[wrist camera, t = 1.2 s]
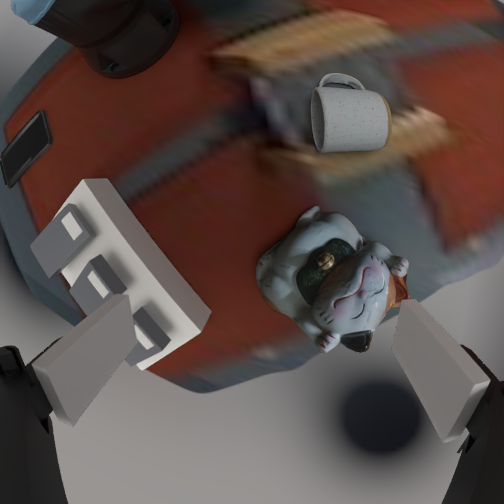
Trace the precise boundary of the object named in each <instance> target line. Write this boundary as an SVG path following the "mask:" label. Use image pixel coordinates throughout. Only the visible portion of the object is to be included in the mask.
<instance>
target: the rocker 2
mask: <svg viewBox="0 0 504 504" xmlns="http://www.w3.org/2000/svg"><path fill="white" fill-rule="evenodd" d="M126 290H127V287H126V286H125V285H124V284H123V282H122V281H121V280H120V278H119V277H118V276H117V274H116V273H115V272H114V271H113V269H112V268H111V267H110V265H109V264H108V263H107V261H106V260H105V259H104V257H103V256H102V254H100V255H98V256H96V257H95V258H93V259H91V260H90V261H89V262H88V263H87V264H86V266H85V267H84V269H83V270H82V272H81V273H80V275H79V276H78V278H77V279H76V281H75V283H74V284H73V286H72V287H71V289H70V290H69V292H70V293H71V295H72V296H73V297H74V299H75V300H76V302H77V303H78V304H79V306H80V307H81V308H82V309H83V311H84V312H85V313H86V315H87V316H89V315H90V314H91V313H93V312H94V311H95V310H96V309H98V308H99V307H100V306H101V305H103V304H104V303H105V302H106V301H108V300H109V299H110V298H111V297H113V296H114V295H115V294H123V293H124V292H125V291H126Z"/></svg>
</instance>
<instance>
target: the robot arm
mask: <svg viewBox="0 0 504 504" xmlns="http://www.w3.org/2000/svg"><path fill="white" fill-rule="evenodd" d="M11 9H12V11H13V12H14V14H16V15H17V16H19V17H21V18H23V19H24V20H26V21H27V22H28V24H30V25H34V26H36V27H39V28H41V29H43V30H45V31H47V32H49V33H51V34H53V35H55V36H57V37H59V38H61V39H63V40H65V41H67V42H69V43H71V44H73V45H75V46H77V47H78V49H79V50H80V52H81V53H82V55H83V57H84V58H85V60H86V62H87V63H88V65H89V66H90V67H91V68H92V69H93V70H94V71H96V72H98V73H100V74H102V75H104V76H106V77H110V78H123V77H128V76H131V75H134V74H137V73H139V72H141V71H143V70H145V69H146V68H148V67H149V66H151V65H152V64H154V63H155V62H156V61H157V60H158V59H160V58H161V57H162V56H163V55H164V53H165V52H166V51H167V50H168V49H169V47H170V46H171V45H172V43H173V41H174V39H175V37H176V35H177V32H178V29H179V15H178V12H177V10H176V8H175V7H174V5H173V4H172V3H171V1H170V0H11ZM137 343H138V341H137V337H136V332H135V327H134V322H133V316H132V311H131V305H130V299H129V295H125V294H115V295H114V296H113V297H111V298H110V299H109V300H108V301H106V302H105V303H104V304H103V305H101V306H100V307H99V308H98V309H96V310H95V311H94V312H93V313H91V314H90V315H89V316H88V317H86V318H85V319H84V320H83V321H81V322H80V323H79V324H78V325H77V326H75V327H74V328H73V329H72V330H71V331H69V332H68V333H67V334H66V335H65V336H63V337H61V338H59V339H57V340H55V341H54V342H53V343H52V344H51V345H50V346H49V347H47V348H46V349H45V350H44V352H41V353H40V354H39V355H38V356H37V357H35V358H34V359H33V360H32V361H31V362H30V363H29V364H27V365H26V366H25V364H24V362H23V360H22V357H21V355H20V352H19V349H18V348H17V347H15V346H4V347H1V348H0V504H68V501H67V498H66V495H65V490H64V486H63V482H62V478H61V473H60V469H59V464H58V459H57V453H56V447H55V441H54V434H53V426H52V421H51V418H50V416H49V414H50V413H51V412H52V411H54V413H55V415H56V416H57V418H58V420H59V421H61V422H63V423H65V424H68V425H70V426H74V425H75V424H76V422H77V421H78V419H79V418H80V417H81V415H82V414H83V413H84V411H85V410H86V409H87V407H88V406H89V405H90V403H91V402H92V401H93V399H94V398H95V397H96V396H97V394H98V393H99V391H100V390H101V389H102V387H103V386H104V385H105V384H106V382H107V381H108V380H109V379H110V377H111V376H112V375H113V373H114V372H115V371H116V369H117V368H118V367H119V366H120V364H121V363H122V362H123V361H124V359H125V358H126V357H127V356H128V354H129V353H130V352H131V350H132V349H133V348H134V347H135V345H136V344H137ZM391 349H392V351H393V353H394V354H395V356H396V358H397V360H398V361H399V363H400V365H401V367H402V368H403V370H404V372H405V374H406V375H407V377H408V379H409V381H410V382H411V384H412V386H413V388H414V390H415V391H416V393H417V395H418V397H419V399H420V401H421V402H422V404H423V406H424V408H425V410H426V412H427V414H428V416H429V418H430V419H431V421H432V423H433V425H434V427H435V429H436V431H437V433H438V435H439V437H440V439H441V441H442V443H446V442H449V441H452V440H455V439H458V438H459V437H460V436H461V434H462V432H463V431H464V429H465V427H466V428H467V429H468V431H469V435H468V436H467V438H466V439H465V441H464V443H463V444H462V445H461V447H460V448H459V450H458V452H457V453H460V451H461V450H462V449H463V450H462V453H461V456H460V459H459V462H458V465H457V467H456V470H455V473H454V475H453V478H452V481H451V483H450V486H449V488H448V490H447V493H446V495H445V497H444V499H443V502H442V504H504V381H501V382H500V381H499V380H498V379H497V378H496V377H495V375H494V374H493V373H492V372H491V371H490V370H489V369H488V368H487V367H486V365H485V364H483V362H482V361H481V360H480V359H479V358H478V357H477V355H476V354H475V353H474V352H473V351H472V350H471V349H469V348H467V347H465V346H464V345H459V344H458V343H457V341H456V340H455V339H454V338H453V337H452V336H451V335H450V334H449V333H448V332H447V331H446V330H445V329H444V328H443V327H442V326H441V325H440V324H439V323H438V322H437V321H436V320H435V319H434V318H433V317H432V316H431V315H430V314H429V312H428V311H427V310H425V309H424V308H423V307H422V306H421V305H420V304H419V303H418V302H417V301H416V300H415V299H411V300H402V301H401V307H400V312H399V317H398V322H397V326H396V331H395V335H394V340H393V344H392V348H391Z"/></svg>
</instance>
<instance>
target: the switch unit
mask: <svg viewBox="0 0 504 504" xmlns="http://www.w3.org/2000/svg"><path fill="white" fill-rule="evenodd" d="M68 203H71V204H75V205H76V206H77V208H78V209H79V211H80V212H81V214H82V215H83V217H84V218H85V220H86V221H87V223H88V224H89V226H90V227H91V229H92V230H93V231H94V233H95V234H96V237H95V238H94V239H93V240H92V241H91V242H90V243H89V244H88V245H87V246H86V247H85V248H84V249H83V250H82V251H81V252H80V253H79V254H78V255H77V256H76V257H75V258H74V259H73V260H72V261H71V262H70V263H69V264H68V265H67V266H66V267H65V268H64V269H63V270H62V271H61V272H62V274H63V275H64V276H65V278H66V279H67V281H68V282H69V284H70V285H71V286H73V284H74V283H75V281H76V279H77V278H78V276H79V275H80V273H81V272H82V270H83V269H84V267H85V266H86V264H87V263H88V262H89V261H90V260H91V259H93V258H95V257H96V256H98V255H100V254H102V256H103V257H104V259H105V260H106V261H107V263H108V264H109V265H110V267H111V268H112V269H113V271H114V272H115V273H116V274H117V276H118V277H119V278H120V280H121V281H122V282H123V284H124V285H125V286H126V287H127V290H126V291H125V292H124V293H123V294H125V295H129V299H130V305H131V311H132V314H133V313H134V312H136V311H137V310H138V309H139V308H141V307H143V308H144V309H145V311H146V312H147V313H148V314H149V315H150V316H151V318H152V319H153V320H154V321H155V322H156V323H157V324H158V326H159V327H160V328H161V329H162V330H163V331H164V332H165V333H166V335H167V336H168V337H169V338H170V339H171V341H170V342H169V344H168V345H167V346H166V347H165V349H164V350H163V351H161V352H159V353H157V354H155V355H153V356H151V357H150V358H148V359H146V360H144V361H141V362H139V363H137V364H136V365H137V366H138V367H139V368H140V369H141V370H144V369H145V368H147V367H149V366H150V365H152V364H153V363H155V362H156V361H158V360H160V359H161V358H163V357H164V356H166V355H167V354H169V353H170V352H172V351H174V350H175V349H177V348H178V347H180V346H181V345H183V344H184V343H186V342H187V341H189V340H190V339H192V338H193V337H195V336H196V335H198V334H199V333H201V332H202V330H203V328H204V326H205V324H206V322H207V320H208V318H209V316H210V314H211V312H212V311H211V310H210V309H209V308H208V307H207V305H206V304H205V303H204V302H203V301H202V300H201V298H200V297H199V296H198V295H197V294H196V293H195V291H194V290H193V289H192V288H191V287H190V285H189V284H188V283H187V282H186V281H185V279H184V278H183V277H182V276H181V275H180V273H179V272H178V271H177V270H176V268H175V267H174V266H173V265H172V263H171V262H170V261H169V260H168V258H167V257H166V256H165V255H164V253H163V252H162V251H161V250H160V248H159V247H158V246H157V245H156V243H155V242H154V241H153V239H152V238H151V237H150V236H149V234H148V233H147V232H146V230H145V229H144V228H143V226H142V225H141V224H140V222H139V221H138V220H137V218H136V217H135V216H134V214H133V213H132V212H131V210H130V209H129V208H128V206H127V205H126V204H125V202H124V201H123V199H122V198H121V197H120V195H119V194H118V192H117V191H116V190H115V188H114V187H113V185H112V184H111V183H110V181H109V180H108V178H100V179H83V180H82V181H81V182H80V183H79V185H78V186H77V187H76V188H75V190H74V191H73V192H72V194H71V195H70V196H69V197H68V199H67V200H66V201H65V203H64V204H63V206H62V207H61V208H60V210H59V211H58V212H57V214H56V215H55V217H56V216H57V215H58V213H59V212H60V211H61V210H62V209H63V208H64V207H65V206H66V205H67V204H68ZM55 217H54V218H55ZM54 218H53V219H54Z"/></svg>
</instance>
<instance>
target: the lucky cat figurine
mask: <svg viewBox="0 0 504 504" xmlns="http://www.w3.org/2000/svg"><path fill="white" fill-rule="evenodd" d="M408 265H409V263H408V260H407V259H405V258H404V257H399V256H395V255H393V254H392V253H391V252H390V251H389V249H388V248H386V247H385V246H384V245H382V244H380V243H379V242H377V241H375V242H370V241H369V240H367V239H366V238H364V237H363V236H361V235H360V234H359V233H358V231H357V230H356V228H355V227H354V225H353V224H352V223H351V222H350V221H349V220H348V219H347V218H346V217H345V216H343V215H341V214H339V213H332V214H322V213H321V211H320V208H319V206H315V207H313V208H312V209H310V210H308V211H306V212H305V213H304V214H303V215H302V216H301V217H300V218H299V220H298V222H297V223H296V225H295V226H294V228H293V229H292V230H291V231H290V232H289V233H288V234H287V235H286V236H285V237H284V238H282V239H281V240H280V241H279V242H278V243H276V244H275V245H274V246H273V247H271V248H270V249H269V250H267V251H266V252H264V254H263V255H262V256H261V257H260V258H259V260H258V262H257V266H256V279H257V284H258V287H259V290H260V292H261V294H262V297H263V299H264V300H265V302H266V303H267V304H268V306H269V307H270V308H272V309H273V310H274V311H277V312H279V313H283V314H285V315H287V316H289V317H290V318H292V319H293V320H294V322H296V324H297V326H299V327H300V328H301V329H302V330H303V331H304V332H305V333H306V334H307V335H308V336H309V337H310V338H311V340H312V341H313V343H314V344H315V345H316V346H317V347H318V349H319V350H320V351H321V352H323V353H326V352H328V351H329V350H331V349H333V348H334V347H335V346H336V345H338V344H339V343H342V344H343V345H345V346H346V347H347V348H349V349H351V350H353V351H355V352H360V353H361V352H366V351H367V350H368V349H369V346H370V342H371V339H372V336H373V334H374V331H375V328H376V327H377V326H378V325H379V323H380V322H381V321H382V319H383V318H384V316H385V314H386V313H387V312H388V310H389V308H391V307H399V306H401V301H402V300H409V299H410V294H409V293H408V290H407V285H406V277H407V270H408Z"/></svg>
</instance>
